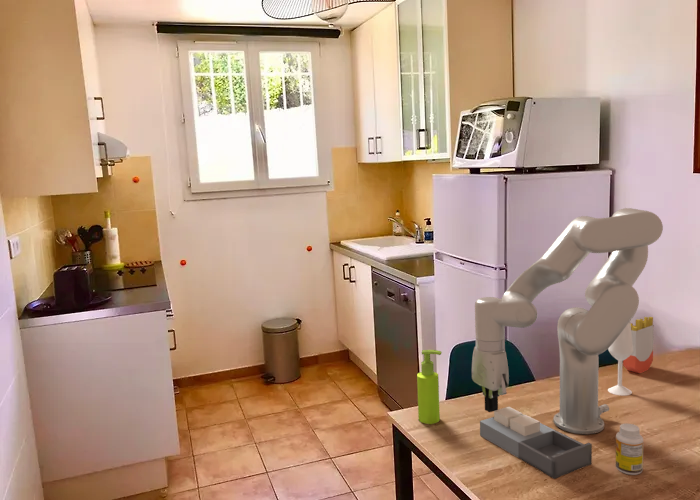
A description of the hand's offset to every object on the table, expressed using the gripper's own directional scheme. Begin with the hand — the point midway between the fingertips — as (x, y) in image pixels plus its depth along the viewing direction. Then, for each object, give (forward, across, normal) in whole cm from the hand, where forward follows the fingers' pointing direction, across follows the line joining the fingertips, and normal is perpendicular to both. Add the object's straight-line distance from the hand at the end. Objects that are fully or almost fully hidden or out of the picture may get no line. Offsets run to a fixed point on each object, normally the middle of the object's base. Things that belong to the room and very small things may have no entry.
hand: (491, 410), depth 154 cm
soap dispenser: (+5, -12, -11) cm, 17 cm away
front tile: (+1, +12, 0) cm, 13 cm away
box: (+5, +22, 0) cm, 22 cm away
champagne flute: (+5, +2, +48) cm, 48 cm away
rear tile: (+1, +6, 0) cm, 7 cm away
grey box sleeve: (+5, +10, 0) cm, 11 cm away
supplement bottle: (+5, +33, +11) cm, 36 cm away
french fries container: (+5, -7, +68) cm, 68 cm away
